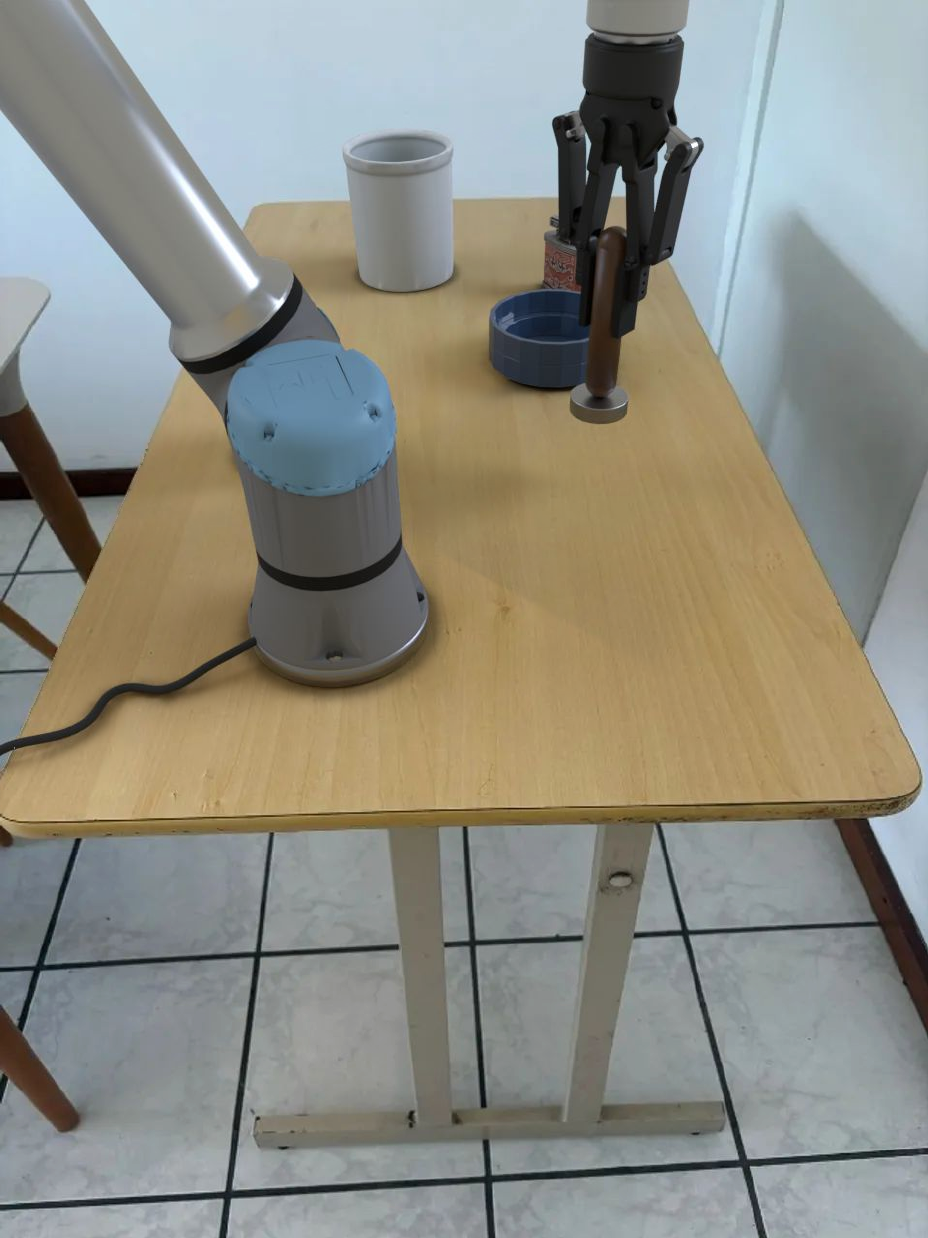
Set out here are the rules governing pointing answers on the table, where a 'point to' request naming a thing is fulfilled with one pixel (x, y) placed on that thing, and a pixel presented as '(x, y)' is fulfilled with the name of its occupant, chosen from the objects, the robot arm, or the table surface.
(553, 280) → the lighter
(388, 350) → the table surface
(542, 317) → the bowl
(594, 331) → the brown stamp
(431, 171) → the utensil holder
